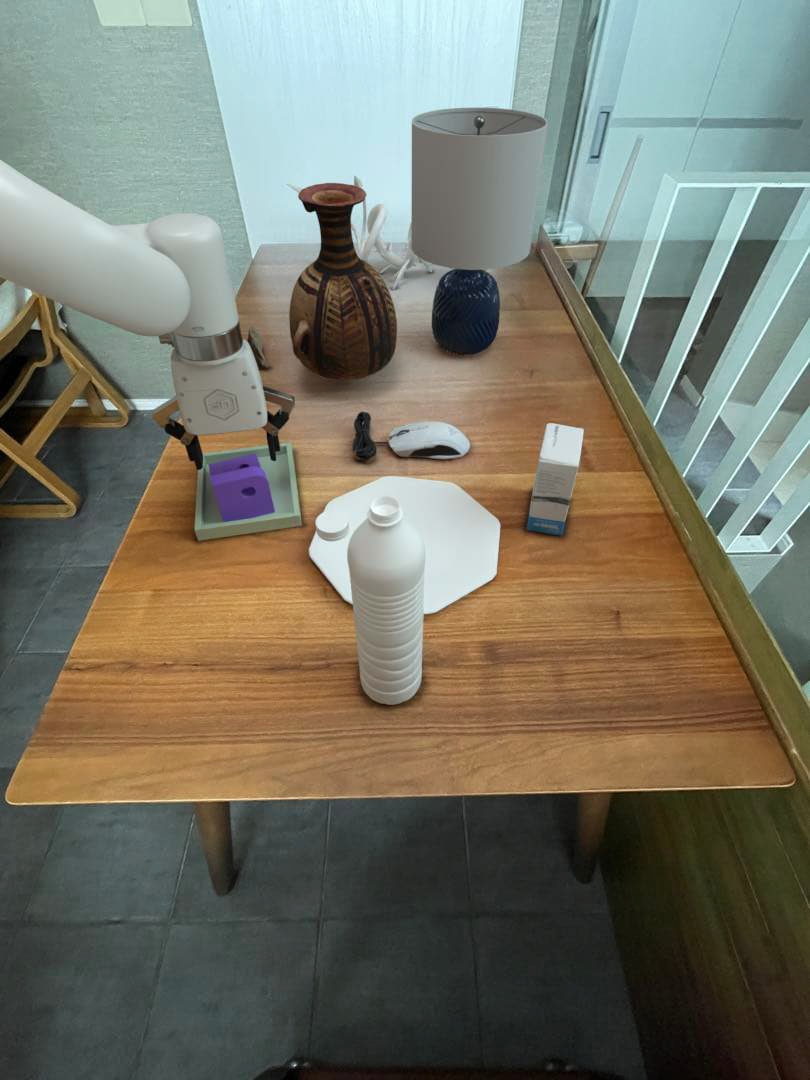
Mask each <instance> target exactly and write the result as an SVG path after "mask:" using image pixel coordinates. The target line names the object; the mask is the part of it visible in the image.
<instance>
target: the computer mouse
mask: <svg viewBox="0 0 810 1080" xmlns="http://www.w3.org/2000/svg"><path fill="white" fill-rule="evenodd" d="M371 421H372V416H371V414H370V413H369V412H368V411H367V412H365V411H359V413H358V414H357V415H356V418H355V419H354V422H353V426H354V427H353V428H354V431H355V433H354V434H355V435H354V438H353V441H352V452H353V458H355V459H357V460H359V461H361V460H362V461H365V462H368V461H370V460H371V459H372V458H374V457H375V456H376V455H377V453H378V450H377V449H378V448H377V445H381V444H387V445H388V446H389V447H390V448H391V449H392V451H393V452H394V453H395V454H397V455H398V456H399V457H403V458H408V457H409V458H410V457H418V458H429V459H434V460H457V459H460V458H462V457H464V456H465V455H466V454H467V453H469V451H470V449H471V442H470V440H469V439H468V438H467V436H466V435H465V434H464V433H463V432H462V431H461V430H459V429H458V428H457V427H455V426H454V425H451V424H449V423H447V422H443V421H418V422H417V421H416V422H412V423H408V424H405V425H401V426H398V427H395V428H393V429H392V431H391V432H390V434H389V435H388V438H390V439H389V440H388V441H374V440H373V439H372V437H371V435H370V428H371Z"/></svg>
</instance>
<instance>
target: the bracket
mask: <svg viewBox="0 0 810 1080" xmlns="http://www.w3.org/2000/svg"><path fill="white" fill-rule="evenodd" d="M208 465H209V470H210V480H211V484H212V487H213V490H214V494H215V497H216V500H217V503H218V506H219V510H220V513H221V516H222V519H223V522H228V521H235V520H242V519H249V518H254V517H258V516H262V515H266V514H270V513H274V512H275V510H274V506H273V501H272V497H271V492H270V488H269V483H268V480H267V477H266V475H265V472H264V471H263V469H261V466H260V464H259V461H258V458H257V456H256V454H250V455H246V456H242V457H237V458H233V459H229V460H224V461H220V462H215V463H211V464H208Z"/></svg>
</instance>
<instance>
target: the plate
mask: <svg viewBox="0 0 810 1080" xmlns="http://www.w3.org/2000/svg"><path fill="white" fill-rule="evenodd" d="M382 496H388V497H392V498H394V499H396V500H397V501H398V503H399V505H400V508H401V510H402V512H403V516H402V517H404V518H405V519H406V520H407V521H408V522H409V523H411V524H412V525H413V526H414V527H415V528H416V529H417V530H418V532H419V533H420V535H421V537H422V539H423V542H424V545H425V553H426V557H425V574H424V604H423V610H424V616H429V615H435V614H437V613H439V612H441V611H442V610H444V609H446V608H447V607H449V606H451V605H452V604H454V603H456V602H457V601H460V600H461V599H463V598H465V597H467V596H469V595H470V594H472V593H473V592H475V591H477V590H478V589H480V588H482V587H483V586H485V585H487V584H489V583H491V582H493V580H494V578H495V577H496V576H497V574H498V561H499V548H500V537H501V526H502V525H501V523H500V521H499V518H498V517H496V516H495V515H494V514H492V513H491V512H490V511H489V510H487V508H485V507H484V506H483V505H482V504H481V503H479V502H478V501H477V500H476V499H474V498H473V496H471V495H470V494H469V493H468V492H466V490H464V489H463V488H461V487H460V486H459V485H458V484H456V483H453V482H451V481H443V480H435V479H434V480H433V479H426V478H425V479H424V478H415V477H407V476H397V475H388V476H387V475H386V476H382V477H380V478H378V479H376V480H374V481H371V482H368V483H367V484H364V485H362V486H359V487H358V488H356V489H353V490H351V491H348V492H347V493H344V494H342V495H340V496H338V497H335V498H333V499H331V500H330V501H329V502H328V503H326V505H325V507H324V510H323V512H326V511H329V510H337V511H341V512H343V513H345V514H346V515H347V517H348V520H349V533H348V534H347V536H346V537H344V538H343V539H341V540H338V541H325V540H323V539H321V538H320V537H319V536H318V535H317V531H316V530H315V532H314V535H313V538H312V540H311V543H310V545H309V548H308V556H309V558H310V560H311V561H312V562H313V563H314V565H315V566H316V567H317V568H318V570H319V571H320V572H321V573H322V574H323V576H324V577H325V578H326V580H327V581H328V582H329V583H330V584H331V586H332V587H333V588H334V589H335V590H336V592H337V593H338V594H339V596H340V597H341V598H342V599H343V601H344V602H346V603H348V604H350V605H352V606H353V601H352V592H351V583H350V572H349V566H348V559H347V550H348V545H349V541H350V539H351V536H352V535H353V533H354V532H355V530H356V529H357V528H358V527H359V526H360V525H361V524H362V523H363V522H364V521H365V520H366V519H367V518H368V517H367V512H368V510H369V509H370V504H371V502H372V501H373V500H374V499H376V498H378V497H382ZM338 538H339V537H338ZM328 539H330V538H328ZM333 539H334V538H333Z"/></svg>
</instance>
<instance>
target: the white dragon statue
mask: <svg viewBox="0 0 810 1080" xmlns="http://www.w3.org/2000/svg"><path fill="white" fill-rule="evenodd" d="M286 185H287V186H289V188H292V190H294V191H296V192H297V193H298V194H299V193H300V191H301V190H302V189H303V188H302V187H299V186H296V185H292V184H288V183H286ZM353 185H354V186H357V187H360V188H361V189H363V181H362V180H361V179H360V178H358V177H357V176H356V175H353ZM366 199H367V198H365V200H364V201H363V202H362V207H363V208H362V209H363V210H362V229H361V238H360V236H359V233H358V231H357V228H356V227H355V225H354V223H353V222H352V221H351V231H352V232H353V234H354V237H355V239H356V244H357V249H358V257H359V258H360V259H361V260H363V261H365V262H367V261H368V259H369V256H370V255H371V253H377V254H378V255H379V256H380V257H381V258H382V259H383V260H385V261H386V262H387V263H388V264H389V265H388V264H387V265H386V266H385V267H384V268H383V269H382V270H380V272H379V274H382V273H384V272H385V271H386V270H388V269H390V267H394V268H396V269H398V271H397V272H396V273H395V274H394V276H392V277H391V279H394V278H396V279H395V281H394V283H393V286H392V290H395V289H396V288H397V286H398V284H399V282H400V281H401V280H402V279H403V277H404V274H405V271H406V270H408V269H410V268H412V267H416V266H417V264H415V263H416V261H418V262H419V264H423V266H424V267H425V269H427V270H428V272H430V273H432V272H433V271H432V270H433V269H432V264H431V263H429V262H426V261H424V260H422V259H420V258H419V257H417V256H416V255H415V254H414V253H413V251H412V248H411V230H412V221H411V222H410V224H409V228H408V232H407V243H406V245H405V247H404V248H402V250H401V251H402V252H405V253H403V254H402V255H401V257H400V256H398V255H396V254H395V253H393V252H392V248H393V243H391V244H390V243H389V242H387V243H385V235H384V232H383V231H382V233H381V234H380V232H381V230H382V228H383V226H384V224H385V221H386V219H387V216H388V207H387V206H386V205H385V204H383V203H379V204H378V203H377V204H376V205H374V206H373V207H372V208H371V210H370V211H369V213H368V216H367V200H366ZM366 231H367V234H368V237H367V239H366ZM373 247H374V248H373ZM403 257H404V258H403ZM367 263H368V262H367Z"/></svg>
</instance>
